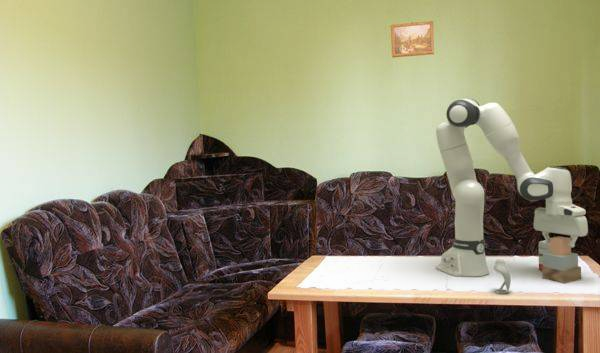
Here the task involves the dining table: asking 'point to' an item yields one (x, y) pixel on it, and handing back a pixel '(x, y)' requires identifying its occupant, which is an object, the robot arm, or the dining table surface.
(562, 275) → the walnut block
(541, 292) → the dining table surface
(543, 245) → the ink box
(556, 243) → the terracotta block
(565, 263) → the slate block
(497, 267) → the figurine
